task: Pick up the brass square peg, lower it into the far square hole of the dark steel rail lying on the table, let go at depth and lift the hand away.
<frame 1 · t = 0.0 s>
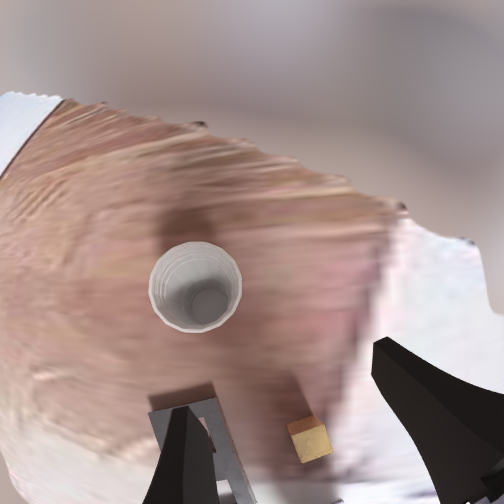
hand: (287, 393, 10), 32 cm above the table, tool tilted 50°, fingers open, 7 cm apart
steel rail: (206, 464, 35), on the table
brass peg: (304, 431, 37), on the table
plastic cup: (211, 307, 44), on the table
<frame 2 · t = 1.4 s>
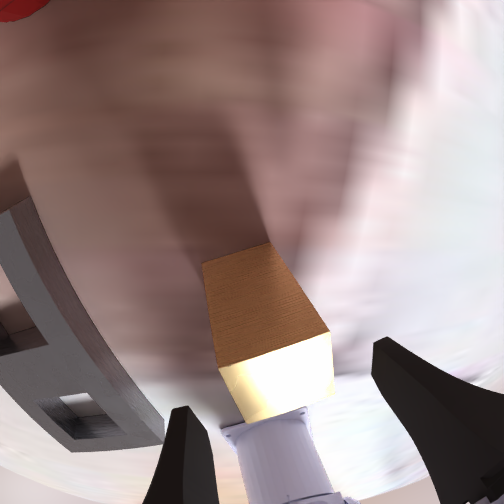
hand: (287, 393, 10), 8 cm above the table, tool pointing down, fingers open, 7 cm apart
steel rail: (48, 351, 17), on the table
brass peg: (244, 281, 18), on the table
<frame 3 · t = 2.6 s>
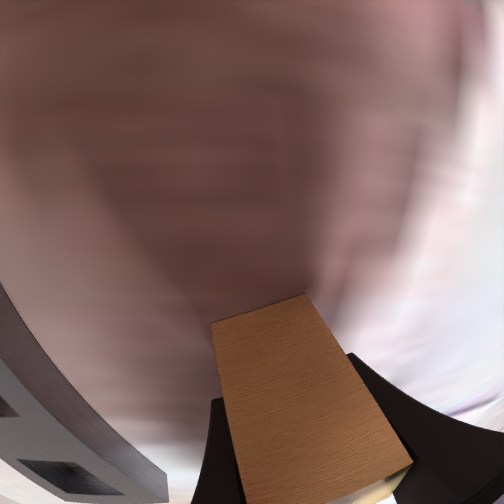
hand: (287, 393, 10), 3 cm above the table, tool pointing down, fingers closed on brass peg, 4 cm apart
steel rail: (26, 409, 12), on the table
brass peg: (268, 343, 13), on the table, touching gripper
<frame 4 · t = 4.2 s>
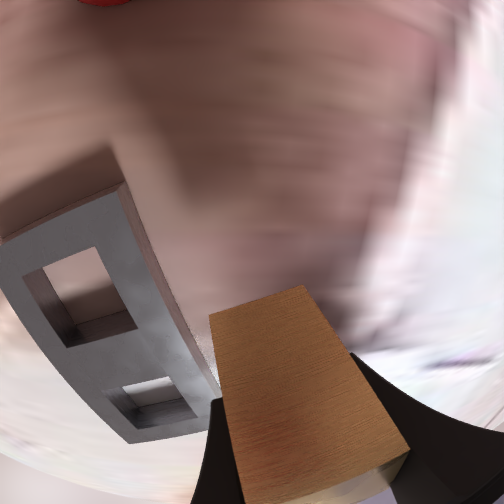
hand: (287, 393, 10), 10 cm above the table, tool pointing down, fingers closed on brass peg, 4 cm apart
steel rail: (121, 339, 19), on the table
brass peg: (266, 335, 13), point 7 cm above the table, touching gripper
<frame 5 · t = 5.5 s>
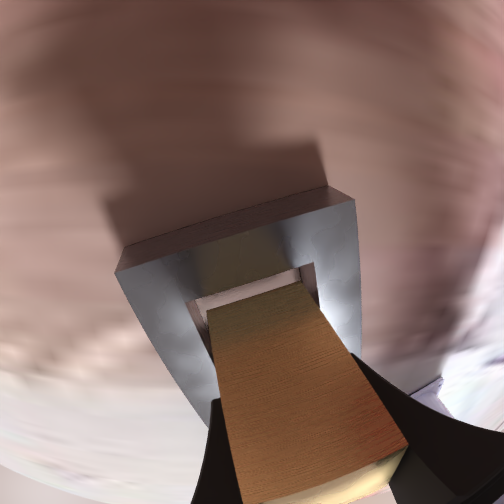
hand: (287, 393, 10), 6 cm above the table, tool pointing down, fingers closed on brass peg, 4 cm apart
steel rail: (270, 362, 18), on the table
brass peg: (264, 331, 13), point 3 cm above the table, touching gripper
when the fingers open (4 cm above the table, at t = 6.3 s): brass peg stays where it is, resting in steel rail.
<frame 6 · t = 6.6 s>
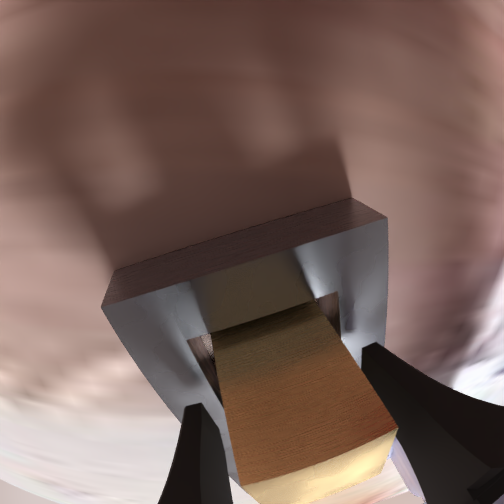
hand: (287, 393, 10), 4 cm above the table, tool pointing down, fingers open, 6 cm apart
steel rail: (280, 390, 16), on the table
brass peg: (261, 323, 14), resting in steel rail
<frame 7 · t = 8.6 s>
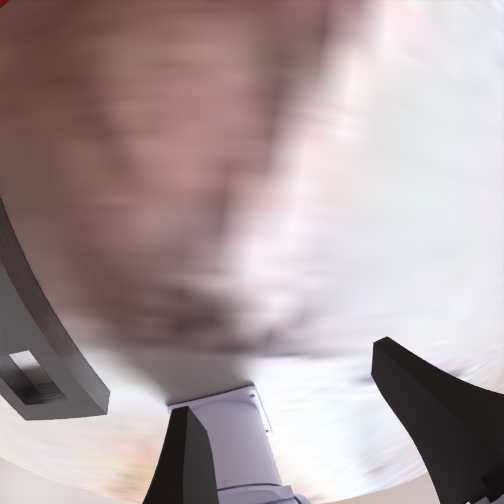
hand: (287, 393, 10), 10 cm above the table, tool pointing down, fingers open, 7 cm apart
steel rail: (2, 311, 16), on the table
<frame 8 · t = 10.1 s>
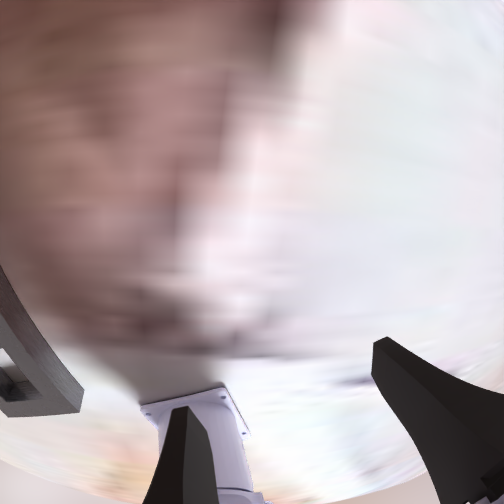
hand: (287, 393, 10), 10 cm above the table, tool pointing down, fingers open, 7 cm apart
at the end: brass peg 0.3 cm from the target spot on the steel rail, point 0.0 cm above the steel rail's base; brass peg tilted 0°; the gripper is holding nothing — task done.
